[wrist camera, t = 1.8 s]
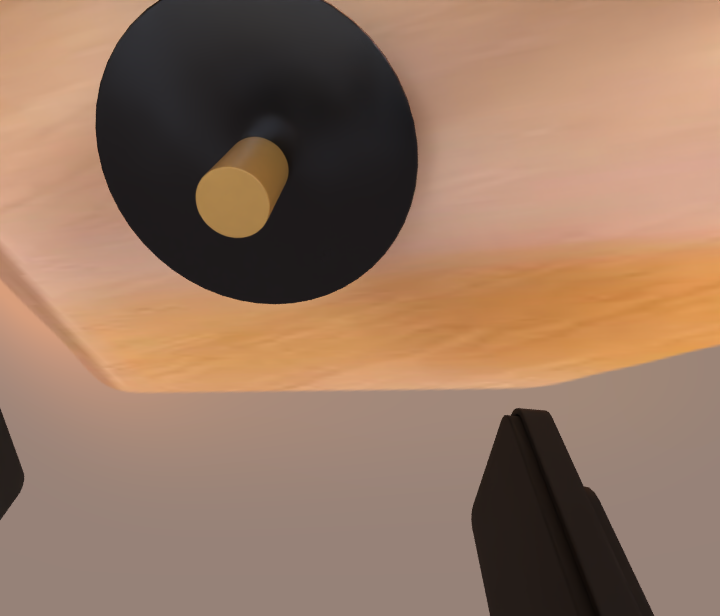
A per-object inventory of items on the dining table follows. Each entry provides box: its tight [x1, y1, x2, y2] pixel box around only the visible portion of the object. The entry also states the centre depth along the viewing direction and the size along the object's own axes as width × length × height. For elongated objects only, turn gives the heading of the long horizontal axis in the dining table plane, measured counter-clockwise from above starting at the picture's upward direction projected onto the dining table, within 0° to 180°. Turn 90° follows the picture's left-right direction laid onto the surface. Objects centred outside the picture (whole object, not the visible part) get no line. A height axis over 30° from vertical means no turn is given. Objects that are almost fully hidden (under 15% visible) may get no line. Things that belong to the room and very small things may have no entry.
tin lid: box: [96, 0, 418, 304], centre depth 20 cm, size 14×14×6 cm
